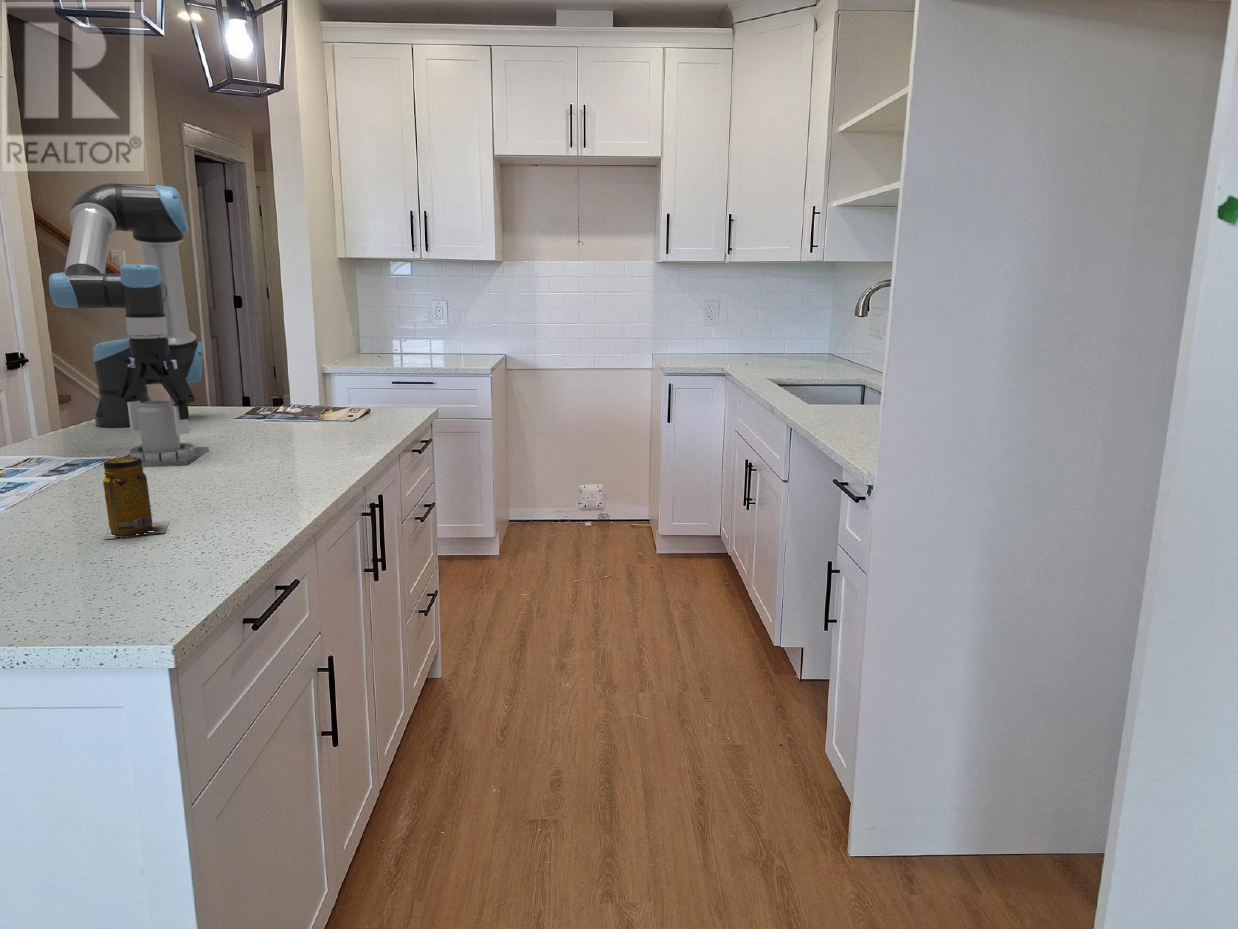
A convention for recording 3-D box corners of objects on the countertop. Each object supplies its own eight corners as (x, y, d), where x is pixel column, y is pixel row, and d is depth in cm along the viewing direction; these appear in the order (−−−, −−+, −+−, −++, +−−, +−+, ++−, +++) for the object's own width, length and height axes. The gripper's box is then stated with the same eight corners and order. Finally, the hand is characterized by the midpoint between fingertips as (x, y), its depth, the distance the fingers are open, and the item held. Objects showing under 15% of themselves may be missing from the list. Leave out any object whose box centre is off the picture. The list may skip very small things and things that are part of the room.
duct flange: (140, 452, 188) (138, 442, 187) (208, 450, 190) (207, 440, 190) (113, 467, 173) (111, 456, 173) (187, 465, 176) (186, 454, 175)
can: (157, 450, 186) (151, 399, 183) (188, 451, 185) (182, 399, 182) (135, 457, 178) (129, 403, 176) (167, 458, 178) (161, 404, 175)
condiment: (111, 527, 132) (101, 456, 130) (169, 522, 136) (161, 452, 133) (104, 540, 126) (93, 466, 123) (165, 534, 129) (156, 462, 127)
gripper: (206, 337, 175) (216, 432, 180) (121, 333, 183) (133, 425, 188) (177, 339, 168) (188, 438, 173) (90, 335, 176) (103, 430, 181)
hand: (159, 431), depth 180 cm, fingers open, 13 cm apart
